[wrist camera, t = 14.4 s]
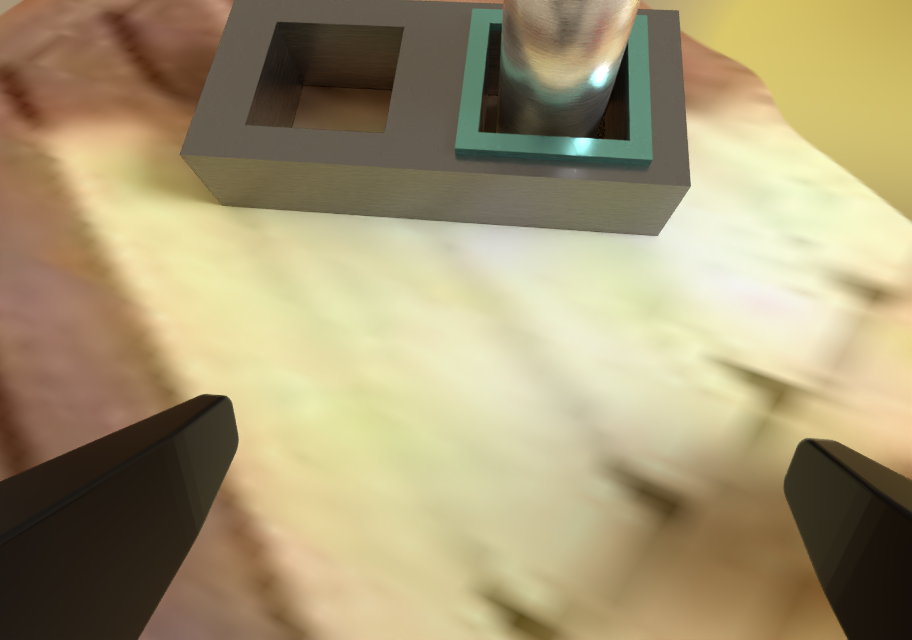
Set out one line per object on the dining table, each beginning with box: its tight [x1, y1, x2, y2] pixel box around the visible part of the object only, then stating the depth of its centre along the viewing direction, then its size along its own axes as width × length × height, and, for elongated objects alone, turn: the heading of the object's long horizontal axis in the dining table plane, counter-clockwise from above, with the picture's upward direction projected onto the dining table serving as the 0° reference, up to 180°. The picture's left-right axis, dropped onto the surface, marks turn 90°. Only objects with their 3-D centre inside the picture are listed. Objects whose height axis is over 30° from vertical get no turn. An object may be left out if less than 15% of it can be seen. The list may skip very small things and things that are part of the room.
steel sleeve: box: [496, 0, 641, 139], centre depth 20 cm, size 5×5×13 cm
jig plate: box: [180, 0, 691, 236], centre depth 25 cm, size 22×10×4 cm, turn 84°
